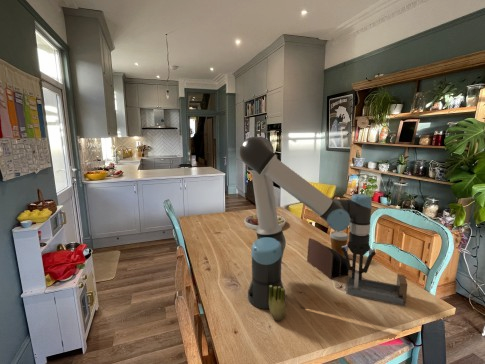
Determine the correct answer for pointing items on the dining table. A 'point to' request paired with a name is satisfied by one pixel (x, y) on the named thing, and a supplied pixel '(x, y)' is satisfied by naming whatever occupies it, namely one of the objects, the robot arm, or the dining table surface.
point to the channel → (380, 290)
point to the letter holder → (326, 260)
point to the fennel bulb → (277, 302)
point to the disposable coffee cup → (338, 241)
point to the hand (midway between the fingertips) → (356, 286)
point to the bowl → (253, 223)
